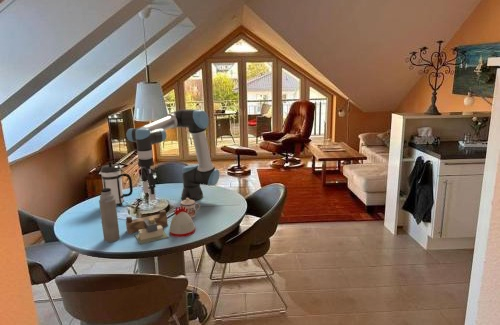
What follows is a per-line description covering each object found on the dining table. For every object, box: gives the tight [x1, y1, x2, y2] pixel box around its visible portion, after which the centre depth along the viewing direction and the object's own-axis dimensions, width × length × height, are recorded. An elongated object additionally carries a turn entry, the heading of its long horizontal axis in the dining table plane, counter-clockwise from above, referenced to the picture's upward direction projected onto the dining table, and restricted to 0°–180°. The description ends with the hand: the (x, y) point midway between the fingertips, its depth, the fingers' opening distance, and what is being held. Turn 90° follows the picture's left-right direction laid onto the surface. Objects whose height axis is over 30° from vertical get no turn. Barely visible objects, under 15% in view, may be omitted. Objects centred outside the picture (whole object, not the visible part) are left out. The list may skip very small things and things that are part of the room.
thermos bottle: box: [98, 188, 121, 243], centre depth 196 cm, size 8×8×28 cm
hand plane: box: [125, 209, 169, 235], centre depth 211 cm, size 22×5×8 cm, turn 119°
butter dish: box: [134, 225, 169, 245], centre depth 200 cm, size 15×12×5 cm
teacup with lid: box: [180, 198, 201, 219], centre depth 228 cm, size 12×9×12 cm
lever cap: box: [144, 217, 157, 233], centre depth 199 cm, size 5×8×6 cm, turn 29°
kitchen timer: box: [169, 205, 196, 238], centre depth 205 cm, size 14×14×15 cm
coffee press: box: [98, 161, 134, 207], centre depth 250 cm, size 17×16×30 cm
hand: (149, 196), depth 201 cm, fingers open, 13 cm apart
